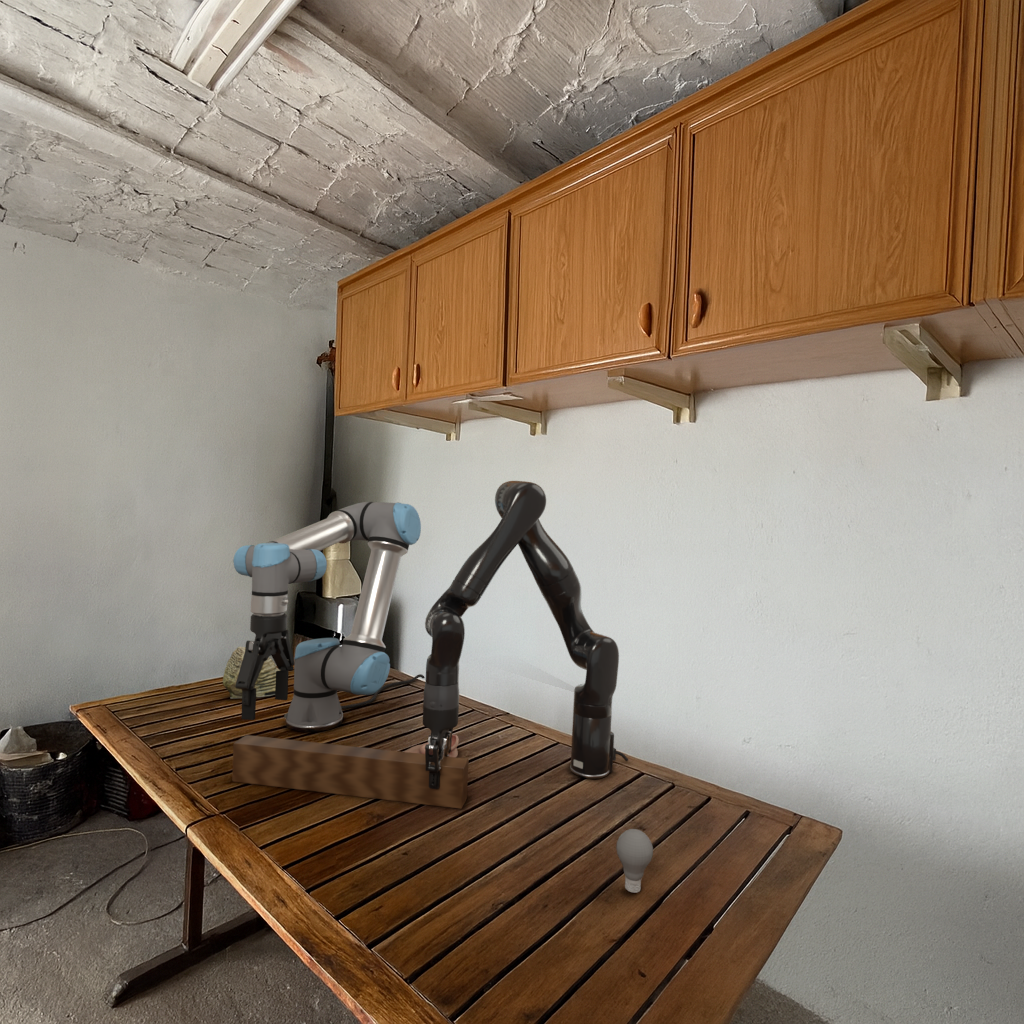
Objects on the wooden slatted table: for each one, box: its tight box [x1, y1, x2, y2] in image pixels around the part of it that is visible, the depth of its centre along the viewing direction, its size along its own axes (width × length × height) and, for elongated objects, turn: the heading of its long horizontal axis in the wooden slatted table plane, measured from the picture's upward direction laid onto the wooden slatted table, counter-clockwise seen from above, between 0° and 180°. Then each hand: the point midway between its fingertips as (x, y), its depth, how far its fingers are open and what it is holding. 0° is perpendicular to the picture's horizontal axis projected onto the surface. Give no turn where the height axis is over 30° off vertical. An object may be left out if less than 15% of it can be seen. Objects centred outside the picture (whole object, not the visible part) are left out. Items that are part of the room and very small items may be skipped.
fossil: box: [222, 646, 280, 699], centre depth 198 cm, size 9×18×15 cm, turn 132°
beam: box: [231, 734, 469, 810], centre depth 137 cm, size 52×5×8 cm, turn 81°
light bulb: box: [615, 828, 654, 894], centre depth 106 cm, size 6×6×10 cm
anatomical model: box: [404, 734, 460, 758], centre depth 158 cm, size 13×4×12 cm
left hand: (265, 708), depth 140 cm, fingers open, 13 cm apart
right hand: (437, 781), depth 135 cm, fingers closed on beam, 5 cm apart
